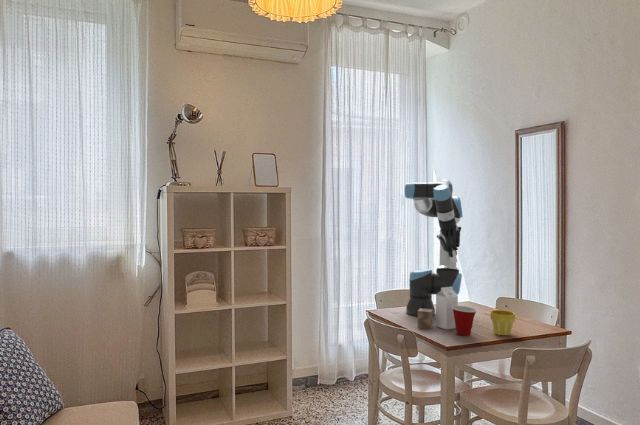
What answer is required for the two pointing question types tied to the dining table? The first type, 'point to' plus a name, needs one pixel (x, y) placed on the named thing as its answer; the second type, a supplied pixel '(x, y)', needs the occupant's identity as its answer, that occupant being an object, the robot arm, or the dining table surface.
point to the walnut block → (425, 318)
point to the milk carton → (446, 308)
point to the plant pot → (502, 321)
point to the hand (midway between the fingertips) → (454, 261)
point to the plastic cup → (463, 319)
